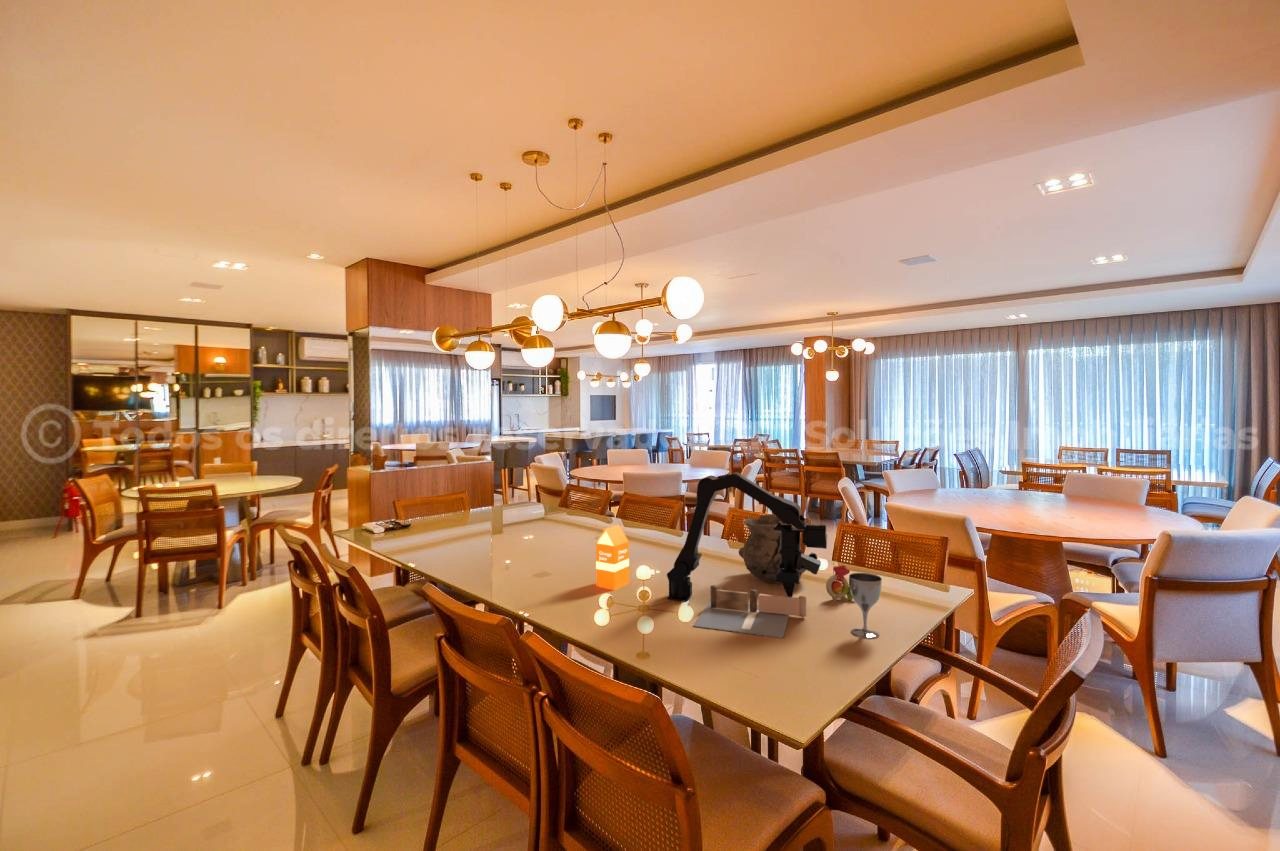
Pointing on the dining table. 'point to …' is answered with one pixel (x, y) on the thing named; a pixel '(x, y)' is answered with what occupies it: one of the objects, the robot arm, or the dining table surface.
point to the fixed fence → (733, 599)
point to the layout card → (743, 621)
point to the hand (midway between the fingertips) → (790, 598)
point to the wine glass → (865, 599)
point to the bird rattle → (835, 587)
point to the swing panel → (782, 605)
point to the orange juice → (612, 558)
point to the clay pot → (763, 548)
